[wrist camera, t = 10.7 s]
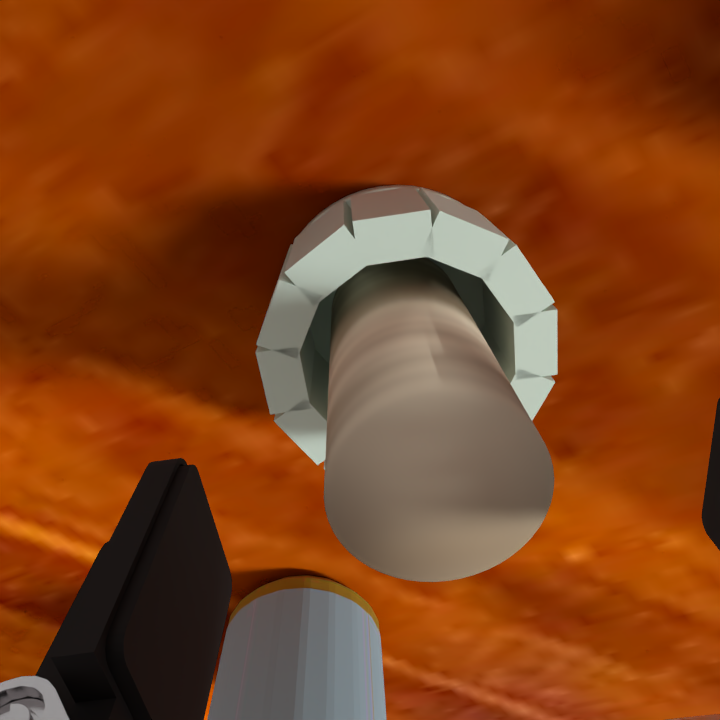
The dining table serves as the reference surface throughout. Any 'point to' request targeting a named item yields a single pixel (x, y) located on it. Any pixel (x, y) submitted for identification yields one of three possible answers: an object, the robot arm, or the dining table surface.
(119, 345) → the dining table surface
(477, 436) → the plug
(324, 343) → the cup
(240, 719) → the bottle
